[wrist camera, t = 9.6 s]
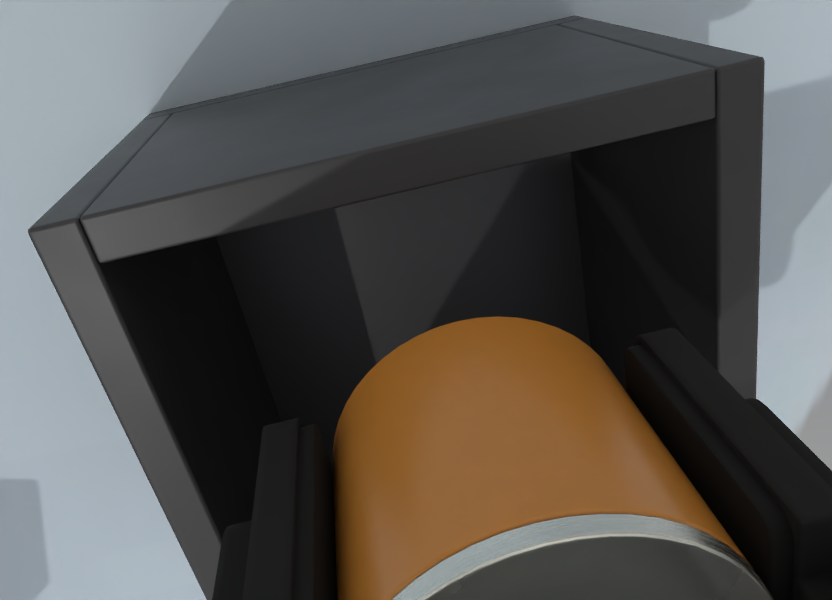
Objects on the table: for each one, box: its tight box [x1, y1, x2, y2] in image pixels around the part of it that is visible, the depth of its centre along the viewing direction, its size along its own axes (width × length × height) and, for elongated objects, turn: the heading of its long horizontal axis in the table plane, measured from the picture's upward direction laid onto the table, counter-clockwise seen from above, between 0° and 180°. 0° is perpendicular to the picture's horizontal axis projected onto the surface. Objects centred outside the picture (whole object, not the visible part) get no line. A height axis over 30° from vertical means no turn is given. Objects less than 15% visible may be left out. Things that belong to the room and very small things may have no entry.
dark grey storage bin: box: [28, 16, 764, 600], centre depth 18 cm, size 14×12×9 cm
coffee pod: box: [333, 316, 774, 600], centre depth 9 cm, size 5×5×4 cm
